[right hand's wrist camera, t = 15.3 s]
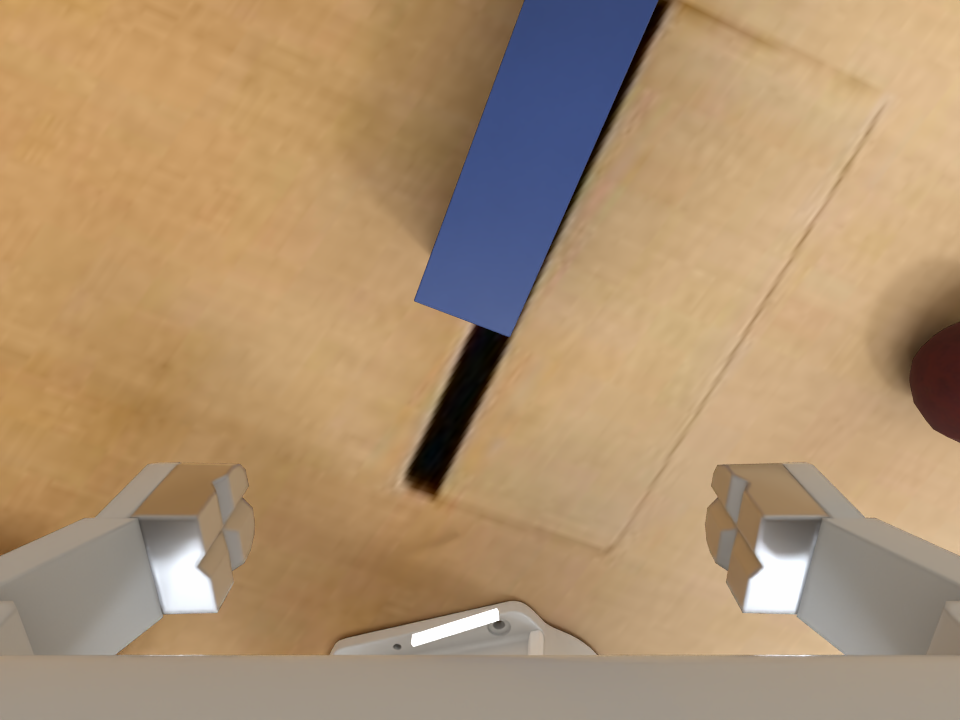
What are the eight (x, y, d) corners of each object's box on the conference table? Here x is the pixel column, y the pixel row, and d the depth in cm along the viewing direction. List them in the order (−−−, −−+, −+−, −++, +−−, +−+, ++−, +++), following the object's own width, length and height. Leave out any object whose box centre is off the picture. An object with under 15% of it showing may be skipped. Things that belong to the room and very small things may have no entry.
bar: (502, 284, 35) (509, 337, 26) (430, 256, 34) (413, 301, 26) (739, -279, 26) (872, -487, 17) (646, -331, 25) (735, -575, 16)
